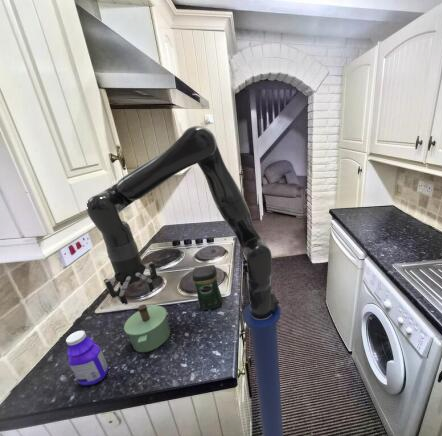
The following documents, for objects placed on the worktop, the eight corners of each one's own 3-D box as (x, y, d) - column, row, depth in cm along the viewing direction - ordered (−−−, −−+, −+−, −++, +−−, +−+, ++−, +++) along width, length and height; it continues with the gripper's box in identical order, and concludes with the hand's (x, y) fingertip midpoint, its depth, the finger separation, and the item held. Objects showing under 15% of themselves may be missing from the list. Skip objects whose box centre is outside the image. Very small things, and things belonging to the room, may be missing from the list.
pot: (172, 316, 94) (168, 299, 91) (167, 351, 79) (161, 333, 75) (139, 324, 90) (133, 308, 87) (126, 364, 75) (119, 345, 72)
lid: (169, 304, 89) (165, 290, 87) (164, 329, 78) (160, 314, 75) (130, 313, 85) (125, 299, 82) (119, 342, 74) (113, 326, 71)
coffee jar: (222, 296, 104) (216, 261, 97) (222, 308, 97) (215, 271, 90) (200, 300, 102) (192, 264, 95) (197, 312, 95) (189, 275, 88)
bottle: (113, 365, 74) (95, 325, 68) (104, 383, 69) (83, 341, 63) (87, 371, 73) (66, 330, 67) (76, 389, 68) (52, 347, 61)
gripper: (99, 269, 64) (117, 314, 70) (153, 248, 74) (165, 290, 80) (92, 260, 68) (110, 304, 74) (144, 242, 79) (156, 282, 85)
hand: (138, 296), depth 77 cm, fingers open, 7 cm apart
